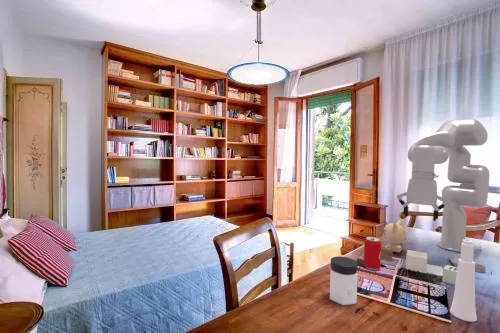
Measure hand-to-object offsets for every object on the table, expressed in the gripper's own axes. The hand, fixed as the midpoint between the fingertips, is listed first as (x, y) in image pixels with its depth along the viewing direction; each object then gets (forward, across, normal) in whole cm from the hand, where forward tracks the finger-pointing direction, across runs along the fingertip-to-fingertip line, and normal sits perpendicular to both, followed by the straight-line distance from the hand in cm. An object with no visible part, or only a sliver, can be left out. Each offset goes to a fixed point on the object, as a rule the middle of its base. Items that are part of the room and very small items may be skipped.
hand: (420, 218), depth 106 cm
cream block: (+21, 0, 0) cm, 21 cm away
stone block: (+21, -15, -17) cm, 31 cm away
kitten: (+21, +11, -17) cm, 29 cm away
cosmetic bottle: (+21, -14, +29) cm, 38 cm away
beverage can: (+21, +15, +11) cm, 28 cm away
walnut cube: (+21, +12, -4) cm, 25 cm away
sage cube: (+21, -11, +5) cm, 24 cm away
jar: (+21, +16, +42) cm, 50 cm away
